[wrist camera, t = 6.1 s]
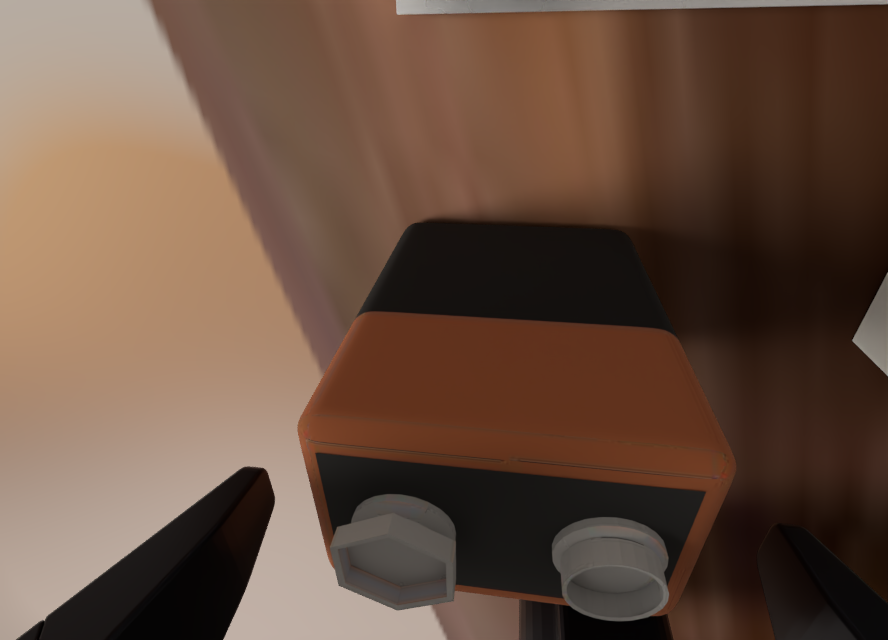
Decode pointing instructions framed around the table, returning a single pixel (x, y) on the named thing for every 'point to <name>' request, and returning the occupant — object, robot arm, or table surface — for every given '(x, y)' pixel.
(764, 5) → the grey metal tray
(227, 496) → the robot arm
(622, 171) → the table surface
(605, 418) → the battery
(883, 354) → the button housing
